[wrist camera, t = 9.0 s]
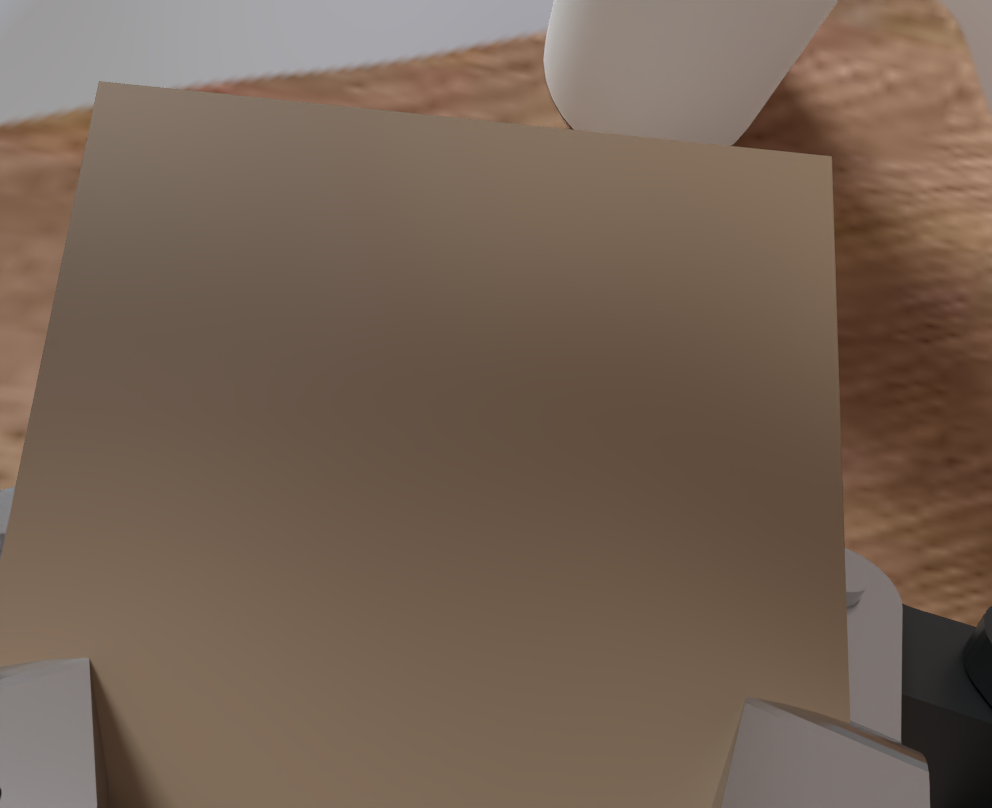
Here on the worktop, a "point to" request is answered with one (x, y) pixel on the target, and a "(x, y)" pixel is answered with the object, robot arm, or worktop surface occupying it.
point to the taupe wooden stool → (431, 457)
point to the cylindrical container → (673, 63)
